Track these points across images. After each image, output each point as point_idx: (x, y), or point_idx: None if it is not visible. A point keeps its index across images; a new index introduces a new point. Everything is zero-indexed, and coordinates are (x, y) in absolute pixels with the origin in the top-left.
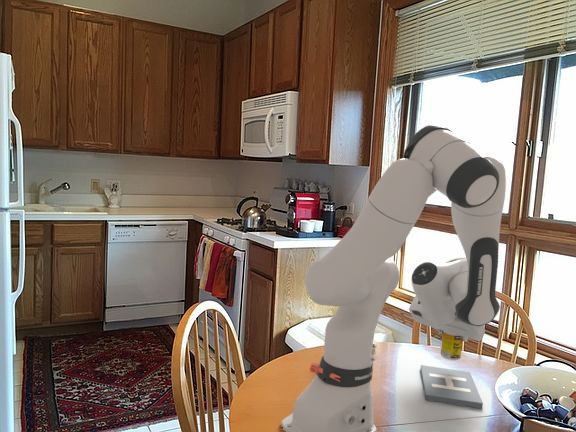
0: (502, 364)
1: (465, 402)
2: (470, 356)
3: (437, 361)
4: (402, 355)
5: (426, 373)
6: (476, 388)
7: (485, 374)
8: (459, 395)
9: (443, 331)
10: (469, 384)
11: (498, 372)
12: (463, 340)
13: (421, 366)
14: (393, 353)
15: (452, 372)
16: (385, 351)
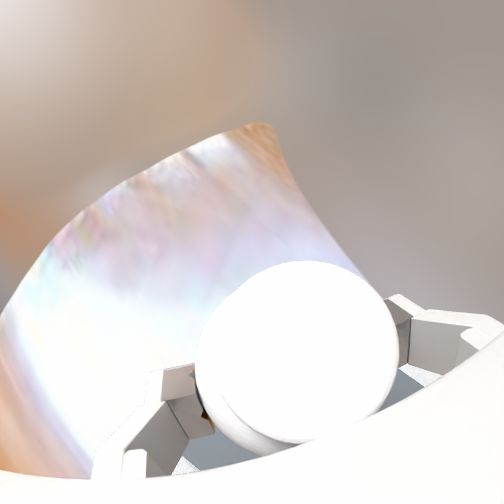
0: (257, 142)
1: None
2: (174, 176)
3: (145, 311)
4: (58, 388)
5: None
6: (419, 384)
7: (299, 235)
8: None
9: (245, 448)
10: (391, 389)
11: (298, 188)
12: None
13: (184, 454)
14: (38, 401)
15: None
16: (21, 410)
